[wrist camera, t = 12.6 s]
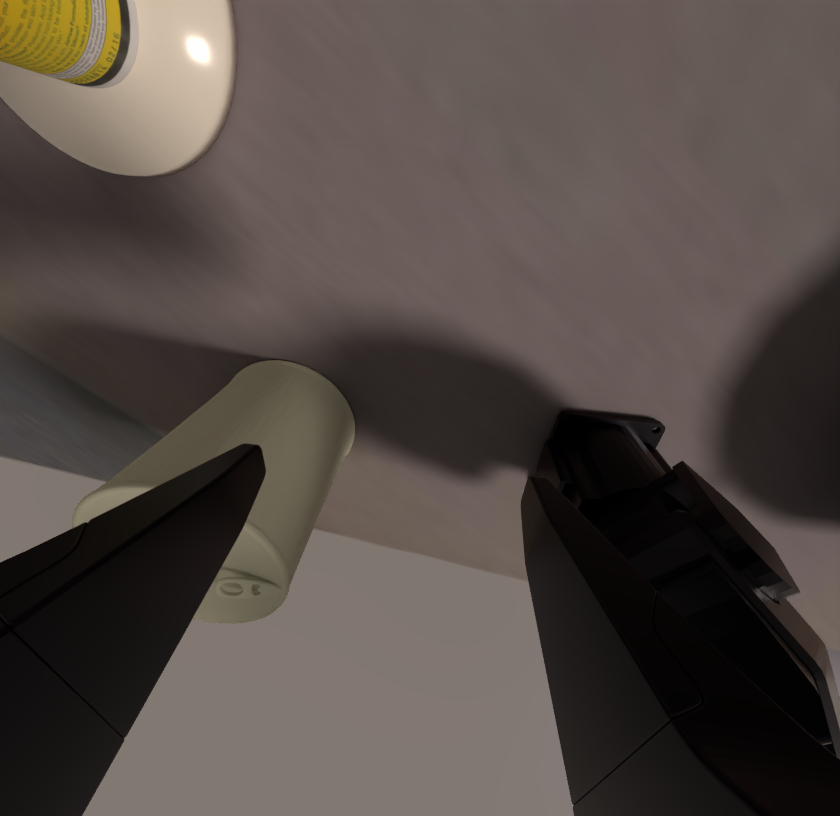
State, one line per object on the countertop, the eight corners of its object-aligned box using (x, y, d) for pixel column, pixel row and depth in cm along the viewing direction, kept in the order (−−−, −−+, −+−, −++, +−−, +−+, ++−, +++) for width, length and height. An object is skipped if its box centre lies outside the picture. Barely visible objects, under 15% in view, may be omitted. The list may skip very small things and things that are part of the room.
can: (343, 483, 27) (276, 652, 17) (226, 450, 27) (84, 606, 17) (368, 384, 23) (294, 537, 12) (226, 340, 22) (26, 465, 12)
